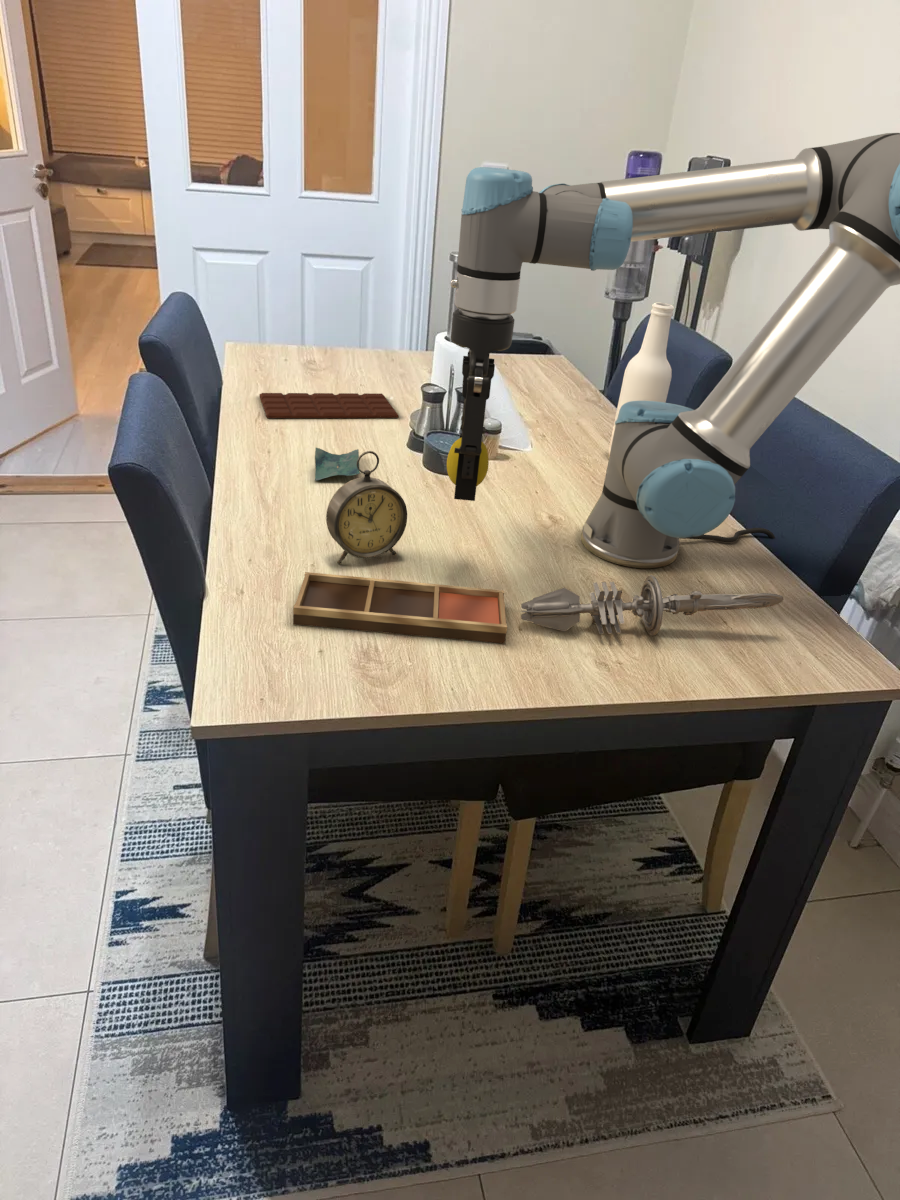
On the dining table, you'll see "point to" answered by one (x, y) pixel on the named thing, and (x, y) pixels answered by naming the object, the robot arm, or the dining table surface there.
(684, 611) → the spaceship
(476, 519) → the dining table surface
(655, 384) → the alcohol
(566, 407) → the dining table surface
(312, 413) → the chocolate bar
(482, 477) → the lemon
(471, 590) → the wooden compartment tray
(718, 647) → the dining table surface
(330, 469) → the terrain model
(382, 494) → the alarm clock
